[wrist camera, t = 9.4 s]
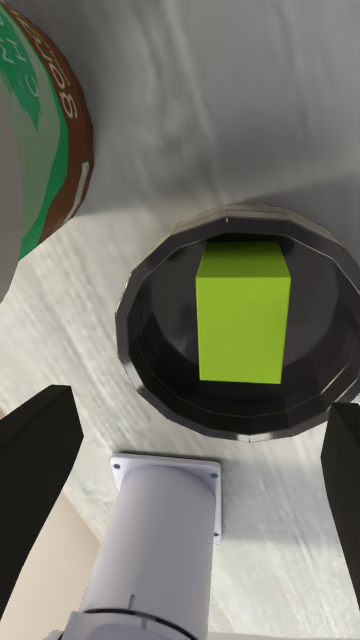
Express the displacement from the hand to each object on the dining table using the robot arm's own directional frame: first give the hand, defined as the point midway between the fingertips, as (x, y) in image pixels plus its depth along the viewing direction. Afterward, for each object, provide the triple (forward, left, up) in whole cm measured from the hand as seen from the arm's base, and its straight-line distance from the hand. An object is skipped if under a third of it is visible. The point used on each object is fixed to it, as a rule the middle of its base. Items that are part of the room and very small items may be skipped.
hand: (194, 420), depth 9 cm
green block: (+1, -1, -8) cm, 9 cm away
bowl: (-1, -1, -9) cm, 9 cm away
